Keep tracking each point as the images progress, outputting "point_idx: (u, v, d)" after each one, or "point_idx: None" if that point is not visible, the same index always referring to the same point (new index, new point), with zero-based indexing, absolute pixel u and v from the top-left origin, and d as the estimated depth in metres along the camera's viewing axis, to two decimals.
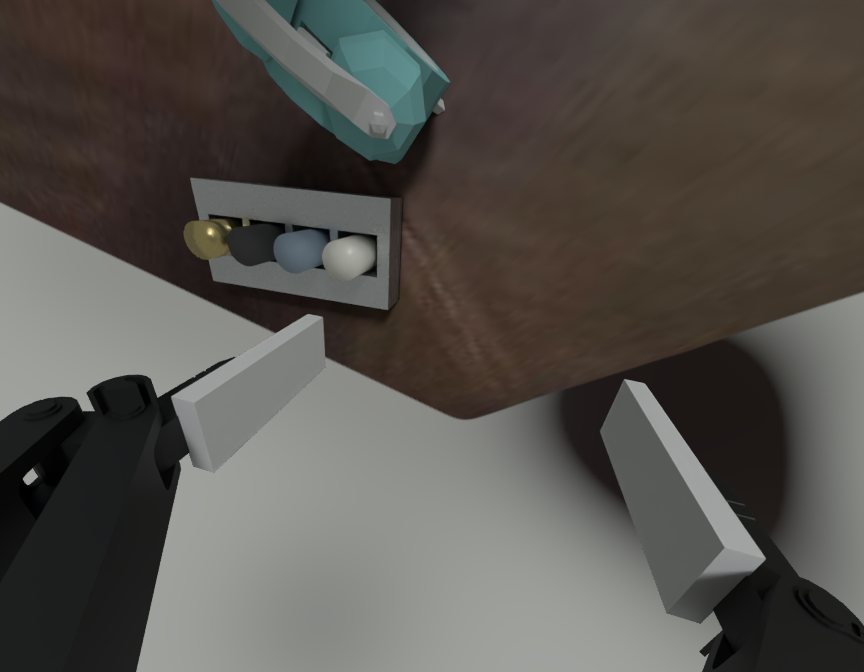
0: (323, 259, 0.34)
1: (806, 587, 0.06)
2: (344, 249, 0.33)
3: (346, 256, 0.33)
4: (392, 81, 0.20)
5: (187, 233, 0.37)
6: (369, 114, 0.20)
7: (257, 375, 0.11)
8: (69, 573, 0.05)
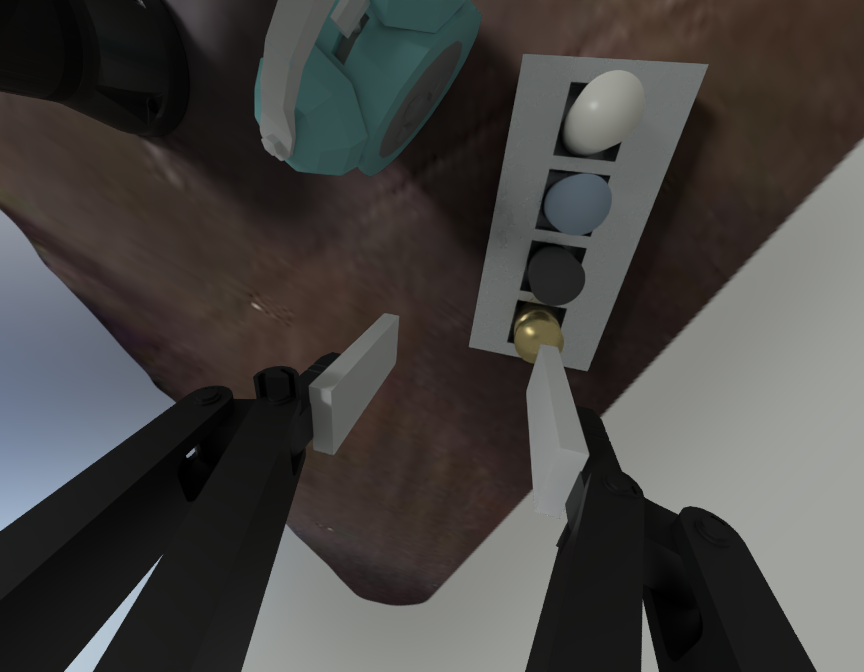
0: (598, 145, 0.22)
1: (607, 471, 0.08)
2: (590, 100, 0.21)
3: (602, 97, 0.21)
4: None
5: (527, 356, 0.30)
6: None
7: (362, 368, 0.12)
8: (217, 546, 0.06)
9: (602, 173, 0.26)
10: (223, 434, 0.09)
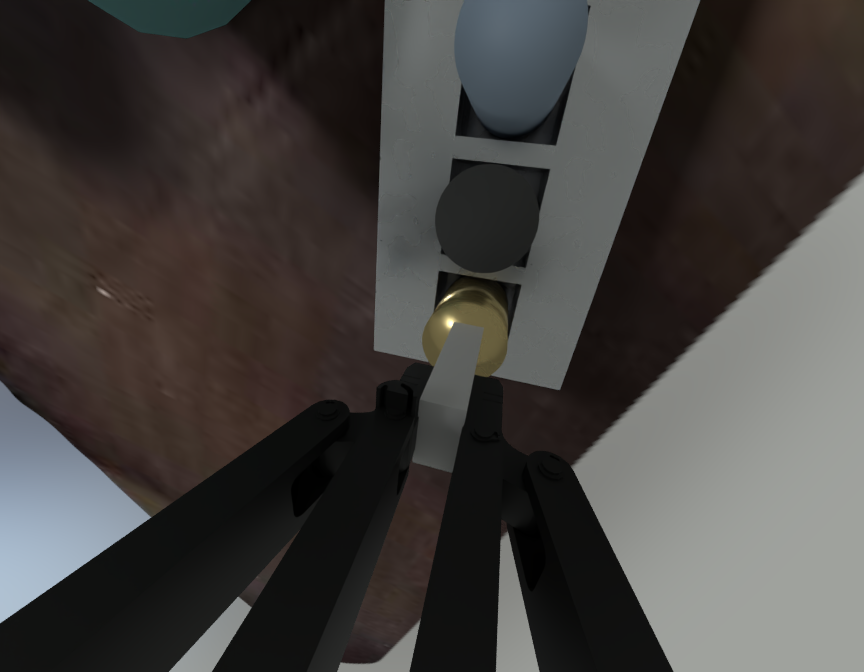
0: None
1: (475, 424, 0.09)
2: None
3: None
4: None
5: None
6: None
7: None
8: (328, 565, 0.05)
9: None
10: (344, 449, 0.09)
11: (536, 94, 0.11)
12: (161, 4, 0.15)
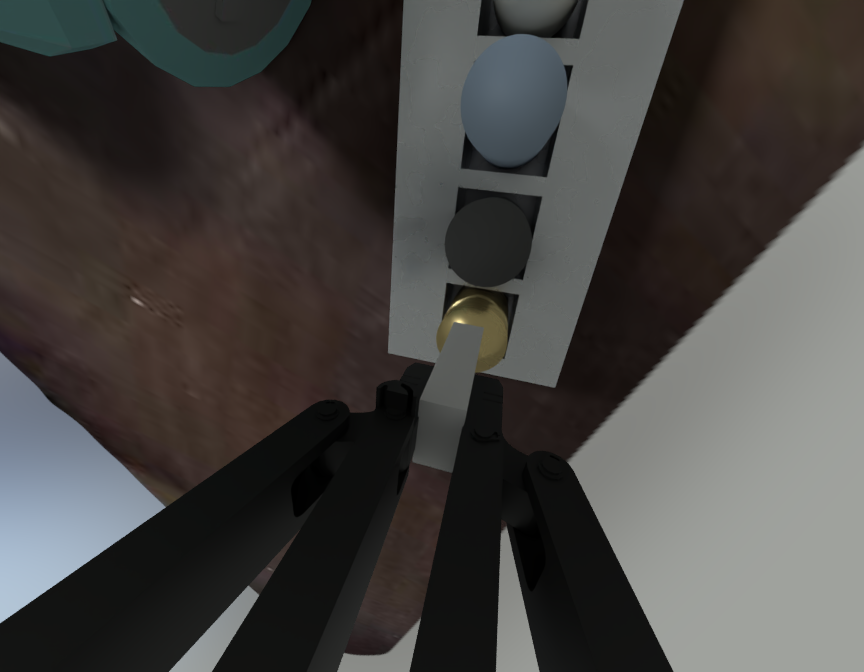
0: None
1: (475, 424, 0.09)
2: None
3: None
4: None
5: None
6: None
7: None
8: (329, 565, 0.05)
9: None
10: (344, 449, 0.09)
11: (527, 144, 0.14)
12: (212, 63, 0.18)
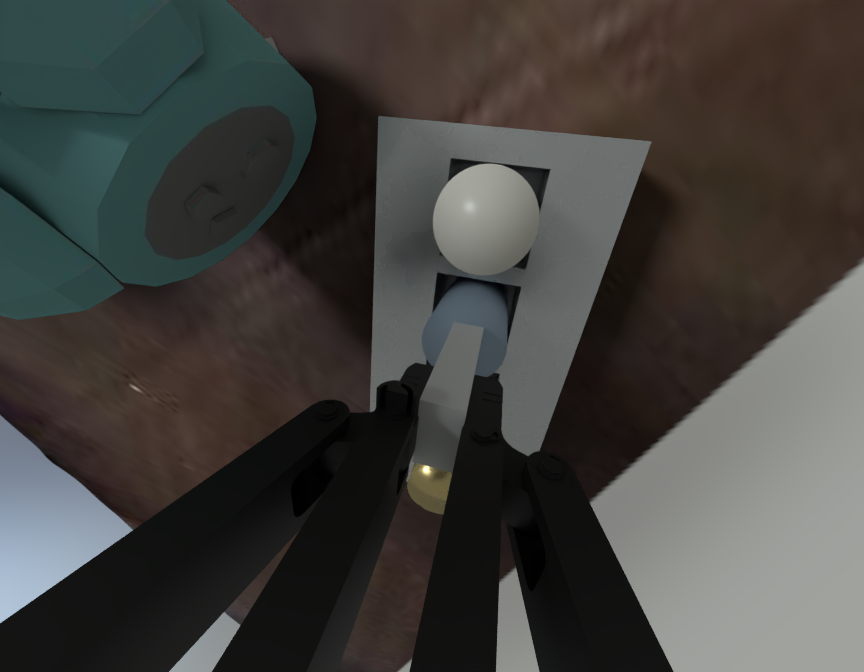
0: (477, 271, 0.14)
1: (475, 425, 0.09)
2: (455, 206, 0.13)
3: (472, 203, 0.13)
4: None
5: (426, 504, 0.23)
6: None
7: None
8: (328, 565, 0.05)
9: (509, 283, 0.18)
10: (344, 449, 0.09)
11: (477, 373, 0.17)
12: (207, 257, 0.20)
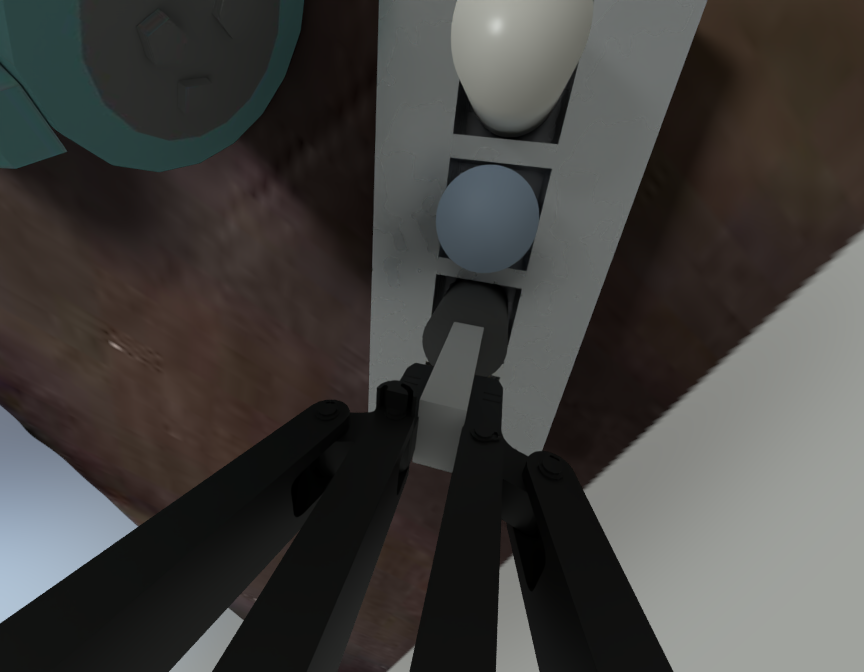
0: (507, 106, 0.11)
1: (474, 425, 0.09)
2: (480, 6, 0.10)
3: None
4: None
5: None
6: None
7: None
8: (329, 564, 0.05)
9: (537, 165, 0.15)
10: (344, 449, 0.09)
11: (501, 260, 0.14)
12: (179, 148, 0.17)
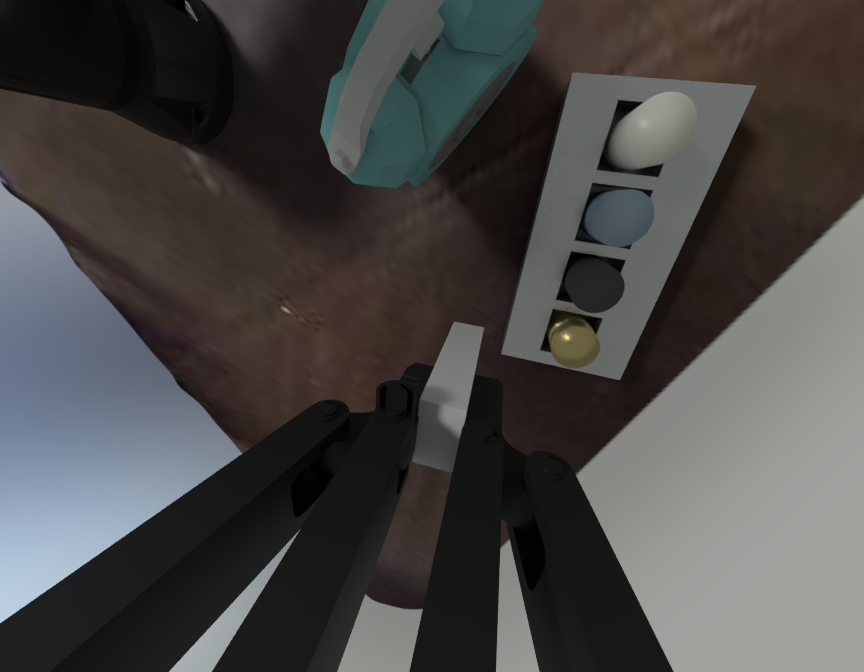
0: (648, 163, 0.23)
1: (475, 424, 0.09)
2: (642, 119, 0.22)
3: (655, 117, 0.22)
4: None
5: (563, 360, 0.31)
6: None
7: None
8: (328, 565, 0.05)
9: (645, 188, 0.27)
10: (344, 449, 0.09)
11: (628, 240, 0.26)
12: (427, 174, 0.29)
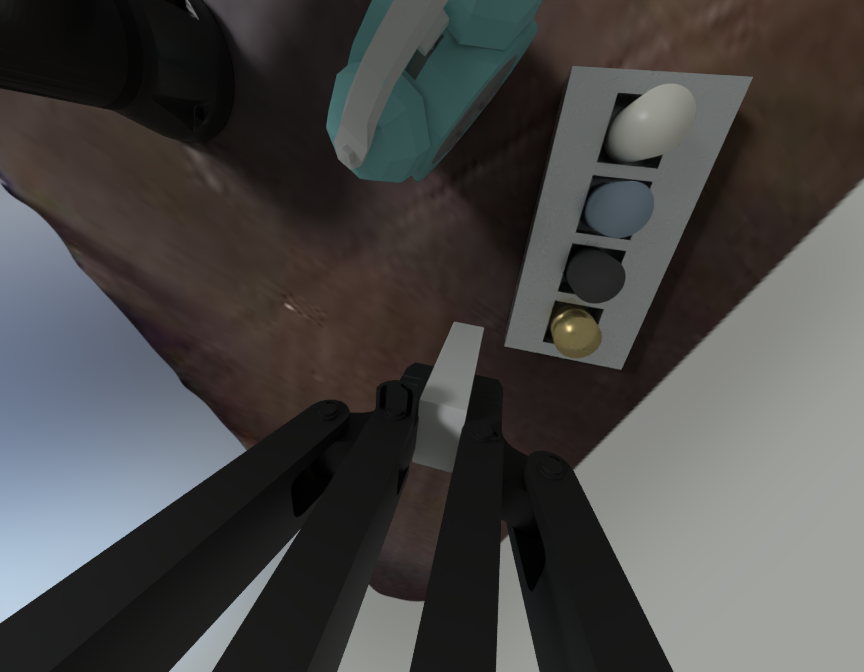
0: (648, 154, 0.23)
1: (475, 424, 0.09)
2: (642, 111, 0.22)
3: (654, 109, 0.22)
4: None
5: (565, 351, 0.32)
6: None
7: None
8: (328, 565, 0.05)
9: (644, 179, 0.27)
10: (344, 449, 0.09)
11: (629, 230, 0.26)
12: (429, 168, 0.29)
